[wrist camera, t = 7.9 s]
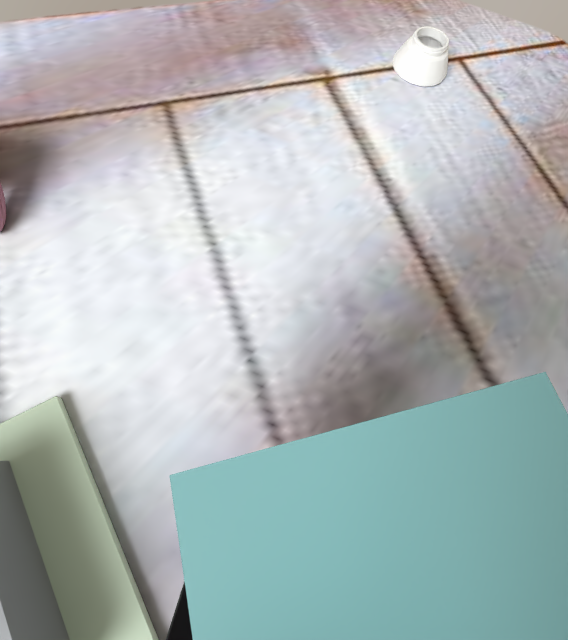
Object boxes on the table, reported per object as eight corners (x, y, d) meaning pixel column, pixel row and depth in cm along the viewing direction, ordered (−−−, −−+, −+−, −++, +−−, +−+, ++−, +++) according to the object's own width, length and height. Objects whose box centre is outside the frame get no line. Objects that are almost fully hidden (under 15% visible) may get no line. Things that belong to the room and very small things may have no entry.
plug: (376, 568, 14) (828, 908, 3) (251, 613, 13) (287, 1310, 2) (337, 439, 16) (545, 371, 5) (224, 470, 15) (169, 474, 4)
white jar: (406, 46, 35) (381, 72, 33) (420, 11, 32) (393, 37, 31) (451, 71, 34) (428, 98, 33) (469, 37, 32) (444, 65, 30)
